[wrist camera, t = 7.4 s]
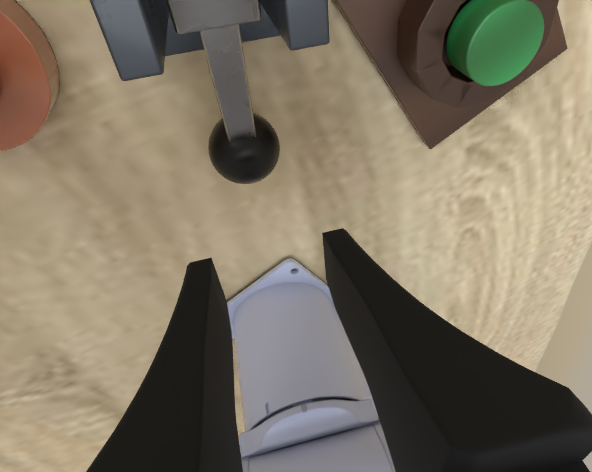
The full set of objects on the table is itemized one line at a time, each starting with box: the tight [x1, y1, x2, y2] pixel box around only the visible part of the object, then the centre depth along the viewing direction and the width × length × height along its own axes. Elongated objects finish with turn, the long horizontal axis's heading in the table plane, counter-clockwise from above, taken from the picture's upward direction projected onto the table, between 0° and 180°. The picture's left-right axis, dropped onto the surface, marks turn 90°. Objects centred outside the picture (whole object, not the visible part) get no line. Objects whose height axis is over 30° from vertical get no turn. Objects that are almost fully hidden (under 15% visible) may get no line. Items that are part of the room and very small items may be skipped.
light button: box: [446, 0, 544, 86], centre depth 17 cm, size 3×3×2 cm
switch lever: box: [165, 0, 280, 184], centre depth 14 cm, size 11×3×3 cm, turn 7°
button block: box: [334, 0, 567, 149], centre depth 18 cm, size 10×8×3 cm
